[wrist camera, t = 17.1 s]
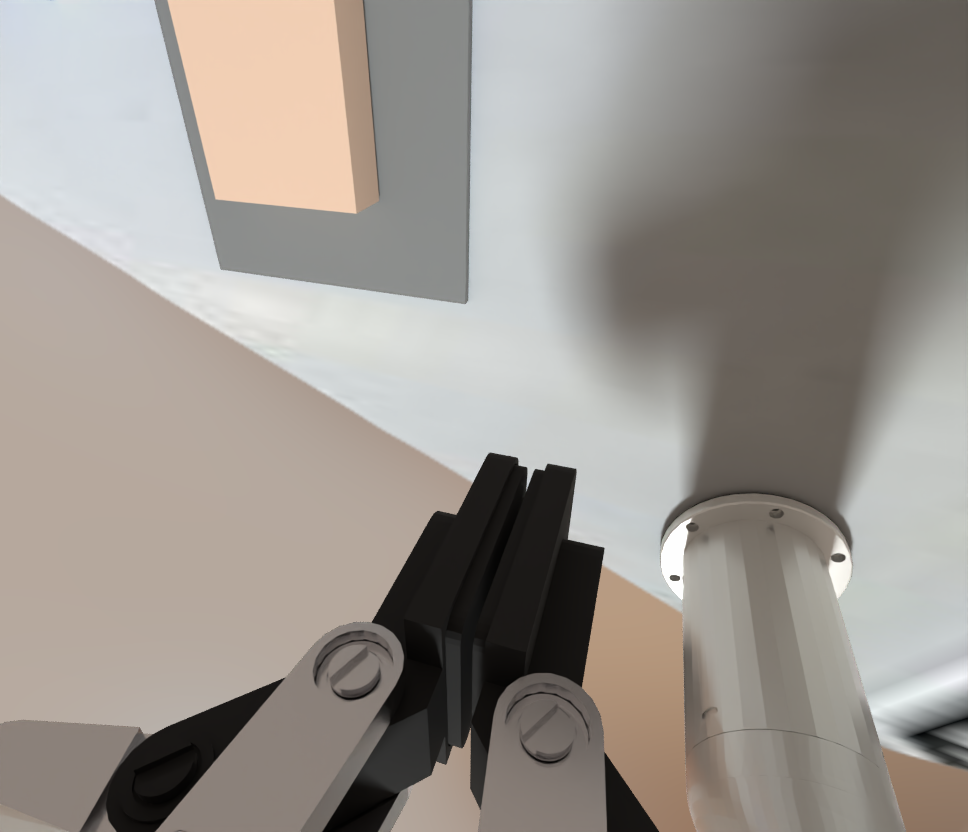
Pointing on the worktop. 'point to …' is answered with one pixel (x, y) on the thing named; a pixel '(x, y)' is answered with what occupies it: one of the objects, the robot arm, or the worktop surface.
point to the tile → (281, 100)
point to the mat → (399, 160)
